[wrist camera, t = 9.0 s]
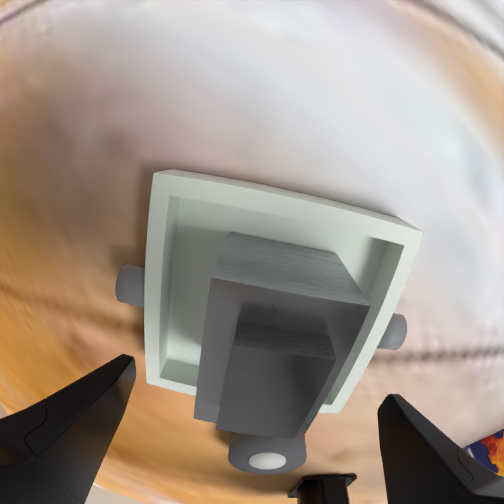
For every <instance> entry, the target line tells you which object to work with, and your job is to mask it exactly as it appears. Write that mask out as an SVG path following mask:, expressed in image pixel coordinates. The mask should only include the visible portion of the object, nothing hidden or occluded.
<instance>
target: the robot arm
mask: <svg viewBox="0 0 504 504" xmlns="http://www.w3.org/2000/svg"><path fill="white" fill-rule="evenodd" d="M135 379H136V366H135V359H134V357H132V356H129V355H126V354H122V355H120V356H118V357H116V358H115V359H113V360H111V361H110V362H108V363H106V364H104V365H103V366H101V367H99V368H98V369H96V370H94V371H92V372H91V373H89V374H87V375H85V376H84V377H82V378H80V379H79V380H77V381H75V382H73V383H72V384H70V385H68V386H66V387H65V388H63V389H61V390H59V391H57V392H56V393H54V394H52V395H50V396H49V397H47V399H46V398H45V399H43V400H41V401H39V402H38V403H36V404H34V405H32V406H30V407H28V408H26V409H24V410H21V411H19V412H17V413H14V414H12V415H9V416H6V417H4V418H1V419H0V504H84V503H85V501H86V498H87V496H88V493H89V491H90V489H91V486H92V484H93V482H94V479H95V477H96V475H97V472H98V470H99V468H100V466H101V463H102V461H103V459H104V457H105V454H106V452H107V450H108V448H109V445H110V443H111V441H112V439H113V437H114V435H115V432H116V430H117V428H118V426H119V424H120V422H121V420H122V417H123V415H124V412H125V409H126V406H127V403H128V400H129V397H130V394H131V391H132V388H133V385H134V382H135ZM378 426H379V441H380V450H381V456H382V463H383V469H384V476H385V483H386V491H387V500H388V504H504V477H503V476H500V475H497V474H495V473H494V472H492V471H491V470H489V469H488V468H487V467H485V466H484V465H482V464H481V463H479V462H478V461H477V460H475V459H474V458H472V457H471V456H470V455H469V454H467V453H466V452H465V451H464V450H462V449H461V448H460V447H459V446H458V445H456V443H454V442H453V441H452V440H451V439H450V438H449V437H447V436H446V435H445V434H444V433H443V432H442V431H440V430H439V429H438V428H437V427H436V426H435V425H434V424H432V423H431V422H430V421H429V420H428V419H427V418H426V417H424V416H423V415H422V414H421V413H420V412H419V411H418V410H416V409H415V408H414V407H413V406H412V405H411V404H410V403H408V402H407V401H406V400H405V399H404V398H403V397H402V396H400V395H399V394H389V395H388V396H387V397H386V398H385V400H384V401H383V402H382V404H381V405H380V407H379V409H378ZM356 479H357V475H343V476H324V477H304V478H302V480H301V481H300V482H299V483H298V484H297V485H296V486H295V487H294V488H293V489H292V490H291V491H290V492H289V493H288V498H297V504H350V503H349V497H348V491H347V486H349V485H350V484H351V483H352V482H353V481H355V480H356Z"/></svg>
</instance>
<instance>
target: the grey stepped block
mask: <svg viewBox="0 0 504 504" xmlns="http://www.w3.org/2000/svg"><path fill="white" fill-rule="evenodd" d="M369 309H370V304H369V303H368V301H367V299H366V298H365V296H364V295H363V293H362V292H361V290H360V288H359V287H358V285H357V284H356V282H355V281H354V279H353V278H352V276H351V275H350V273H349V272H348V270H347V269H346V267H345V266H344V264H343V263H342V261H341V260H340V258H339V257H338V255H337V254H336V253H335V252H331V251H326V250H321V249H316V248H312V247H307V246H302V245H297V244H292V243H287V242H283V241H278V240H273V239H268V238H263V237H258V236H253V235H248V234H243V233H238V232H233V231H230V233H229V236H228V238H227V240H226V243H225V245H224V247H223V250H222V252H221V255H220V257H219V259H218V262H217V264H216V266H215V269H214V271H213V274H212V276H211V281H210V287H209V294H208V301H207V309H206V316H205V323H204V331H203V339H202V347H201V355H200V363H199V372H198V381H197V390H196V399H195V409H194V419H198V420H203V421H208V422H213V423H217V426H216V429H218V430H223V431H229V432H236V433H242V434H250V435H258V436H267V437H277V438H291V439H294V437H295V436H296V434H297V433H306V431H307V430H308V428H309V426H310V425H311V423H312V421H313V420H314V418H315V417H316V415H317V413H318V411H319V410H320V408H321V406H322V405H323V403H324V401H325V399H326V398H327V396H328V394H329V392H330V390H331V388H332V387H333V385H334V383H335V381H336V379H337V377H338V375H339V373H340V371H341V369H342V368H343V366H344V364H345V362H346V360H347V357H348V355H349V353H350V351H351V349H352V347H353V345H354V343H355V341H356V339H357V336H358V334H359V332H360V330H361V327H362V325H363V323H364V321H365V318H366V316H367V314H368V311H369Z"/></svg>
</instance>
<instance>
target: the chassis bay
mask: <svg viewBox="0 0 504 504" xmlns="http://www.w3.org/2000/svg"><path fill="white" fill-rule="evenodd" d="M230 231H233V232H238V233H243V234H248V235H253V236H258V237H263V238H268V239H273V240H278V241H283V242H287V243H292V244H297V245H302V246H307V247H312V248H316V249H321V250H326V251H331V252H335V253H336V254H337V255H338V257H339V258H340V260H341V261H342V263H343V264H344V266H345V267H346V269H347V270H348V272H349V273H350V275H351V276H352V278H353V279H354V281H355V282H356V284H357V285H358V287H359V288H360V290H361V292H362V293H363V295H364V296H365V298H366V299H367V301H368V303H369V304H370V309H369V311H368V314H367V316H366V318H365V321H364V323H363V325H362V327H361V330H360V332H359V334H358V336H357V339H356V341H355V343H354V345H353V347H352V349H351V351H350V353H349V355H348V357H347V360H346V362H345V364H344V366H343V368H342V369H341V371H340V373H339V375H338V377H337V379H336V381H335V383H334V385H333V387H332V388H331V390H330V392H329V394H328V396H327V398H326V399H325V401H324V403H323V405H322V406H321V408H320V410H319V411H318V413H339V412H340V411H341V409H342V407H343V406H344V404H345V403H346V401H347V399H348V398H349V396H350V395H351V393H352V391H353V390H354V388H355V386H356V385H357V383H358V381H359V379H360V378H361V376H362V374H363V372H364V371H365V369H366V367H367V365H368V363H369V361H370V360H371V358H372V356H373V354H374V352H375V350H376V348H378V349H392V350H396V349H398V348H400V347H401V346H402V344H403V342H404V340H405V337H406V333H407V323H406V320H405V318H404V316H403V315H401V314H394V313H393V312H394V310H395V308H396V306H397V303H398V301H399V299H400V296H401V294H402V291H403V289H404V286H405V284H406V281H407V279H408V276H409V274H410V271H411V268H412V265H413V263H414V260H415V257H416V254H417V251H418V248H419V245H420V242H421V239H422V236H423V233H424V232H423V231H421V230H419V229H418V228H416V227H414V226H412V225H410V224H409V223H407V222H405V221H403V220H401V219H399V218H396V217H392V216H389V215H386V214H382V213H379V212H375V211H372V210H368V209H364V208H361V207H357V206H353V205H349V204H346V203H342V202H338V201H334V200H330V199H326V198H322V197H317V196H313V195H309V194H305V193H300V192H296V191H291V190H287V189H282V188H278V187H273V186H268V185H263V184H258V183H253V182H248V181H243V180H237V179H232V178H226V177H221V176H215V175H209V174H203V173H196V172H190V171H183V170H177V169H170V170H165V171H160V172H155V173H153V181H152V189H151V198H150V207H149V218H148V229H147V243H146V260H145V267H141V266H136V265H132V264H128V263H126V264H125V265H123V267H122V268H121V270H120V272H119V274H118V277H117V281H116V297H117V300H118V301H120V302H123V303H127V304H130V305H134V306H138V307H142V308H144V335H145V362H146V379H147V383H148V384H152V385H155V386H159V387H163V388H166V389H170V390H174V391H178V392H182V393H186V394H190V395H195V396H196V390H197V381H198V372H199V363H200V355H201V347H202V339H203V331H204V323H205V316H206V309H207V301H208V294H209V287H210V281H211V276H212V274H213V271H214V269H215V266H216V264H217V262H218V259H219V257H220V255H221V252H222V250H223V247H224V245H225V243H226V240H227V238H228V236H229V233H230Z"/></svg>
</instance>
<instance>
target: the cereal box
mask: <svg viewBox="0 0 504 504" xmlns="http://www.w3.org/2000/svg"><path fill="white" fill-rule="evenodd" d="M464 451H465V452H466V453H467V454H469V455H470V456H471V457H472V458H474V459H475V460H477V461H478V462H479V463H481V464H482V465H484V466H485V467H487V468H488V469H489V470H491V471H492V472H494V473H495V474H497V475H500V476H503V477H504V429H503V430H501V431H499V432H497V433H495V434H493V435H490V436H488V437H486V438H484V439H482V440H479V441H477V442H475V443H472V444H470V445H469V446H468V447H467V448H466V449H465V450H464Z"/></svg>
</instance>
